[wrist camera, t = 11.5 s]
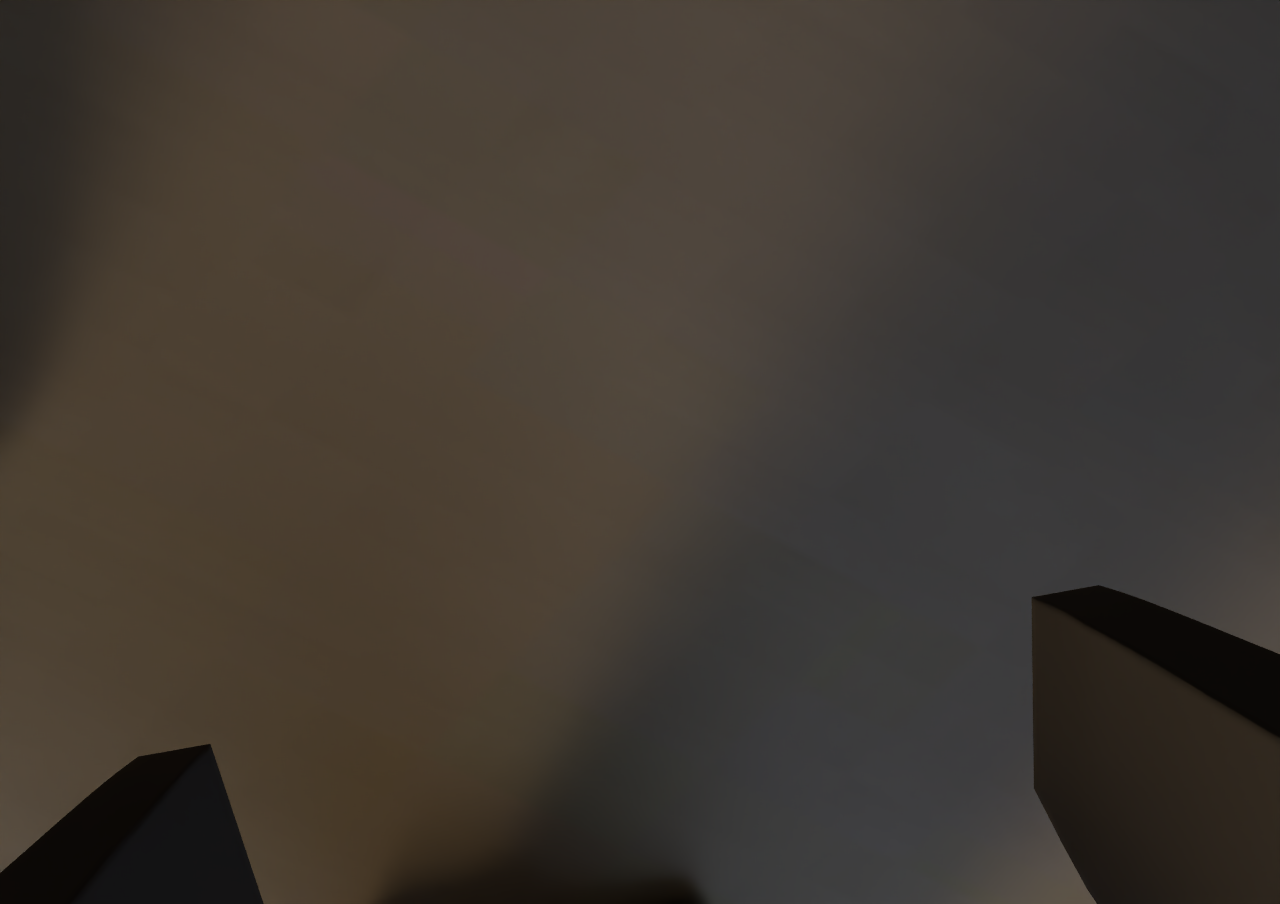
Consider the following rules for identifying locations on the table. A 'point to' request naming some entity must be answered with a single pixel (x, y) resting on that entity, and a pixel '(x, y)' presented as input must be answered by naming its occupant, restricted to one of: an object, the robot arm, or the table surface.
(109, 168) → the table surface
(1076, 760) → the robot arm
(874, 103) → the table surface
